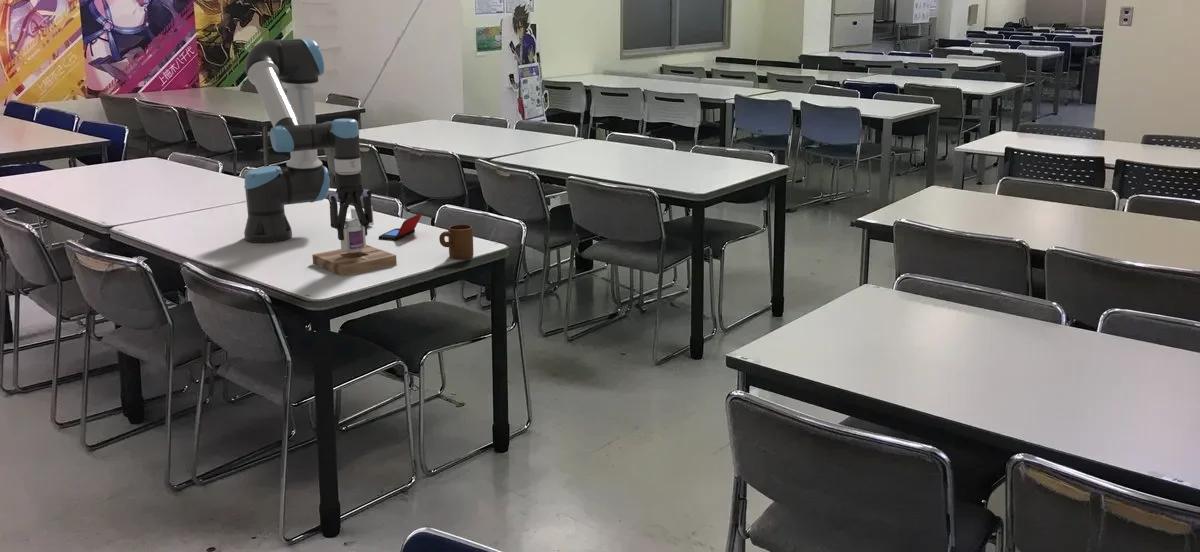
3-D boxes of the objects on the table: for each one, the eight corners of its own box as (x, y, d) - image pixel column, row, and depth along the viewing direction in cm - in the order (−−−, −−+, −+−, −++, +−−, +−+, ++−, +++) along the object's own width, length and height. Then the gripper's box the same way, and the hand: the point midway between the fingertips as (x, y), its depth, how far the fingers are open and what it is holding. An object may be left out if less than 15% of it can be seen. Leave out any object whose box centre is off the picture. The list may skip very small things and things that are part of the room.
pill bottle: (366, 249, 293) (363, 218, 290) (358, 253, 288) (356, 222, 285) (349, 248, 294) (347, 217, 292) (341, 252, 289) (339, 221, 287)
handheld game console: (396, 231, 334) (394, 210, 332) (424, 233, 331) (422, 212, 328) (377, 239, 322) (375, 218, 320) (405, 242, 319) (404, 220, 317)
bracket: (373, 227, 339) (372, 206, 337) (356, 230, 334) (355, 209, 332) (352, 221, 348) (351, 200, 346) (335, 224, 343) (334, 203, 341)
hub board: (313, 264, 293) (312, 253, 292) (365, 253, 305) (364, 243, 304) (343, 276, 280) (342, 265, 279) (396, 264, 292) (396, 254, 291)
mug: (448, 264, 293) (447, 233, 291) (432, 259, 298) (431, 229, 295) (478, 256, 302) (477, 227, 299) (462, 252, 307) (461, 223, 304)
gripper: (326, 177, 276) (332, 256, 282) (382, 170, 288) (386, 245, 294) (313, 174, 281) (319, 251, 287) (369, 166, 293) (373, 241, 300)
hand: (353, 248), depth 291 cm, fingers closed on pill bottle, 5 cm apart
